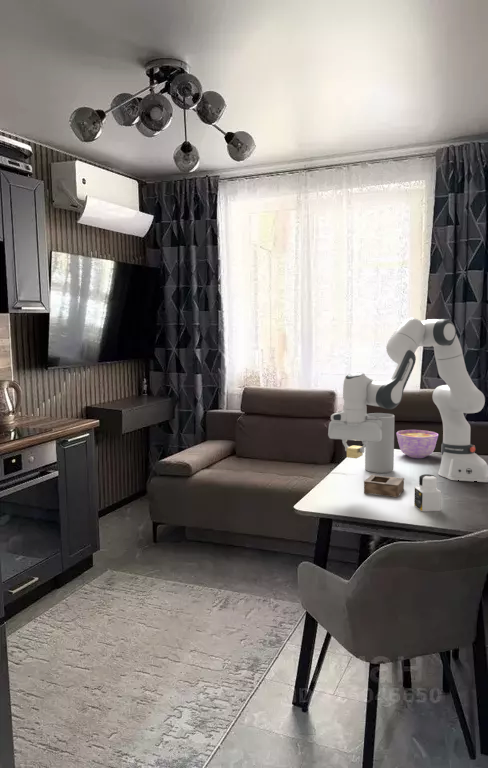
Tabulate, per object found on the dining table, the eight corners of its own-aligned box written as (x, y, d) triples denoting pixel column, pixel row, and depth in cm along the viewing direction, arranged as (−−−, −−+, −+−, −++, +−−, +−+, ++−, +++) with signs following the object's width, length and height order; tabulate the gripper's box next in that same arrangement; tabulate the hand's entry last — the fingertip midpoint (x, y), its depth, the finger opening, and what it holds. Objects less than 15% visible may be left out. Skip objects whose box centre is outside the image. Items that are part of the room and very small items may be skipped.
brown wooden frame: (403, 489, 232) (403, 478, 231) (397, 497, 222) (397, 485, 221) (371, 485, 237) (371, 474, 237) (363, 492, 228) (364, 481, 227)
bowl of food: (387, 454, 295) (388, 431, 294) (420, 450, 302) (421, 428, 301) (412, 462, 277) (412, 438, 276) (446, 458, 284) (447, 435, 283)
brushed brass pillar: (362, 455, 224) (362, 446, 223) (356, 458, 219) (356, 449, 218) (352, 454, 226) (352, 445, 226) (346, 457, 221) (346, 448, 221)
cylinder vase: (383, 465, 271) (384, 412, 268) (398, 472, 259) (400, 416, 256) (359, 468, 267) (360, 414, 264) (374, 474, 255) (375, 418, 253)
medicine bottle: (414, 505, 211) (414, 473, 210) (433, 505, 212) (433, 472, 211) (421, 511, 204) (422, 478, 203) (441, 511, 205) (442, 477, 204)
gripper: (384, 416, 219) (383, 452, 220) (331, 413, 228) (331, 447, 230) (380, 418, 213) (379, 455, 215) (326, 415, 222) (326, 451, 224)
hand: (354, 451), depth 222 cm, fingers closed on brushed brass pillar, 4 cm apart
